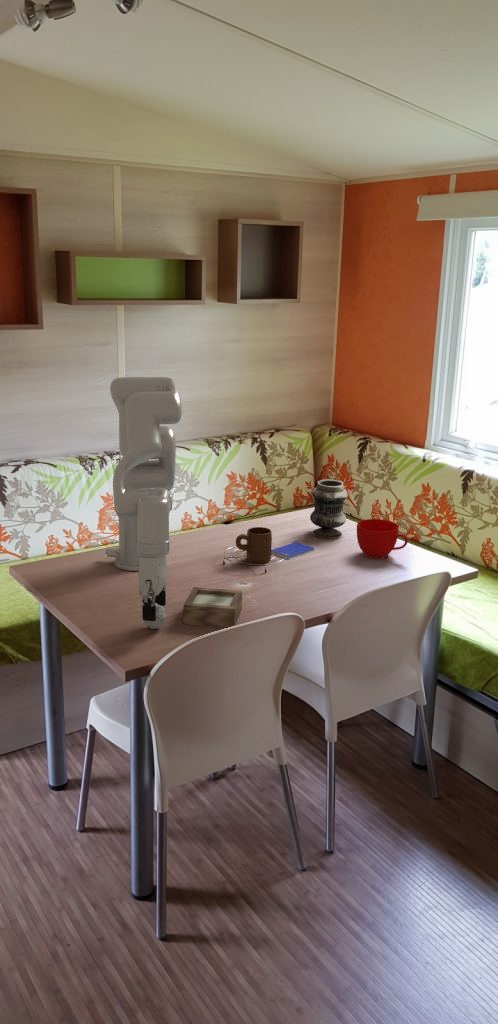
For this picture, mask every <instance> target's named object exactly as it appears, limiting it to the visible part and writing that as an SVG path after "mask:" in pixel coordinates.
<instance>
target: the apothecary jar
mask: <svg viewBox="0 0 498 1024" xmlns="http://www.w3.org/2000/svg"><path fill="white" fill-rule="evenodd" d="M311 496H312V498H313V499H314V500H315V501H314V510H313V511H312V512H311V513H310V515H309V516H310V517H309V518H310V519H309V520H310V521H311V522H312V524H314V525H315V526H317V527H318V528H315V529H314V530H312V534H313V536H315V537H316V538H323V539H337V538H339V537H342V535H343V533H342V532H341V530H338V529H337V528H340V527H342V526H343V525H345V523H346V521H347V516H346V514H345V513H344V502H345V500H347V499H348V491H347V490H346V489H345V487H344V482H342V481H340V480H337V479H336V480H335V479H320V480H318V481H317V484H316V487H315V488H313V489H312V491H311Z"/></svg>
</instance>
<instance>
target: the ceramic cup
mask: <svg viewBox="0 0 498 1024" xmlns="http://www.w3.org/2000/svg"><path fill="white" fill-rule="evenodd" d="M399 529H400V527H399V524H397V523H395V521H392V520H391V521H390V520H388V519H387V520H386V519H382V518H369V519H362V520H359V521H358V522H357V523H356V538H357V544H358V546H359V549H360V550H361V551H362V552H363V554H364V556H366V557H367V558H369V559H373V560H380V559H381V560H382V559H385V558H387V556H389V554H391V552H393V551H397V550H402V549H403V548H406V546H407V544H408V542H409V538H408V536H407V535H406V534H404V533H399V532H400V531H399ZM399 537H402V538H403V539H404V543H403V544H402V545H400V546H396V544H397V541H398V538H399Z"/></svg>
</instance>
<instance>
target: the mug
mask: <svg viewBox="0 0 498 1024" xmlns="http://www.w3.org/2000/svg"><path fill="white" fill-rule="evenodd" d="M272 535H273V534H272V530H271V529H270V528H268V527H262V526H257V527H255V526H254V527H250V528H248V529H247V533H246V534H245V533H241V534H239V535H237V537H236V538H235V545H236V548H237V549H238V550H241V551H246V552H245V553H246V559H247V561H248V562H250V563H251V564H266V563H268V562H270V561H271V559H272V554H271V550H272V545H273V544H272V541H273V540H272V539H273V536H272ZM242 540H244V541H245V540H246V543H245V544H242Z"/></svg>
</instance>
